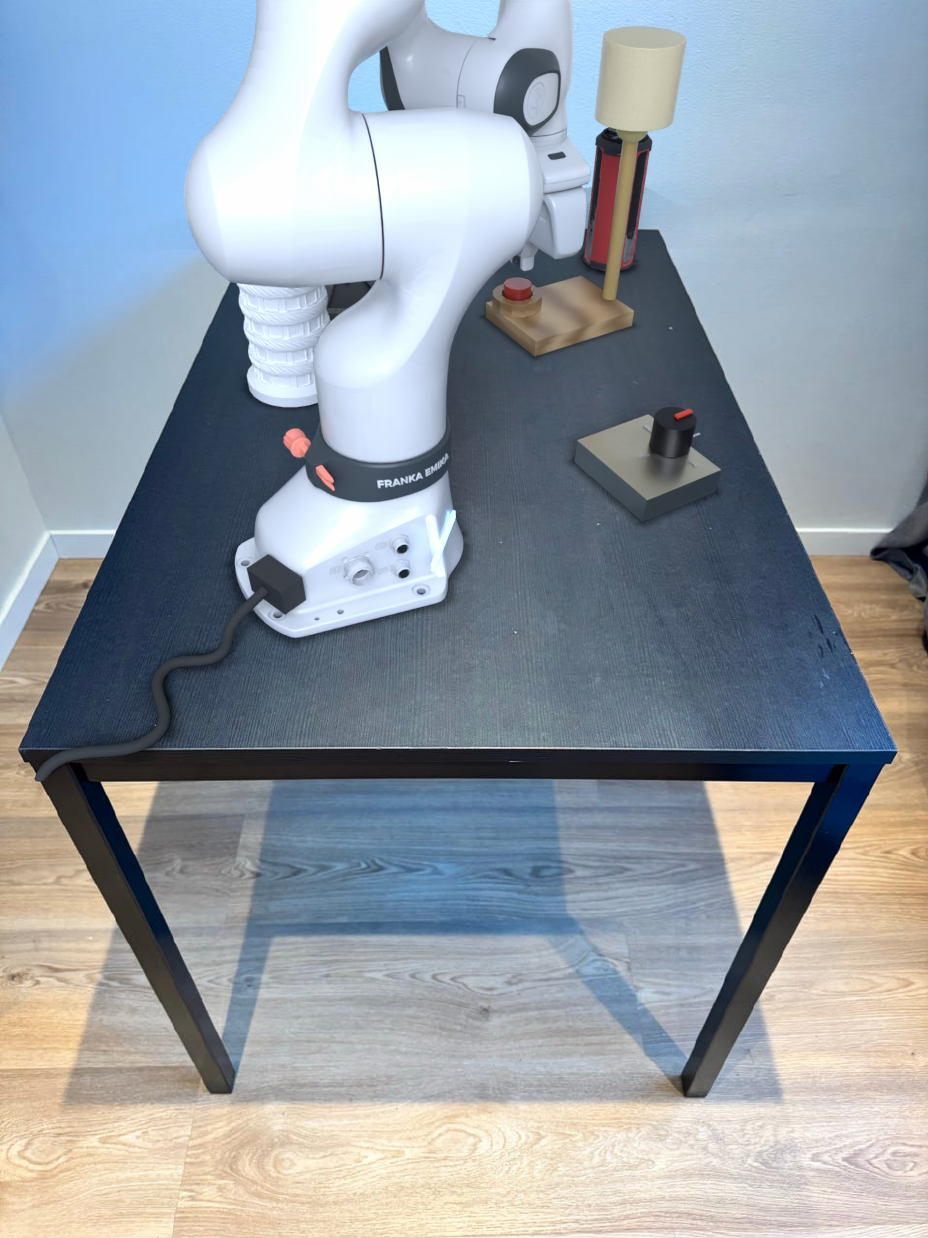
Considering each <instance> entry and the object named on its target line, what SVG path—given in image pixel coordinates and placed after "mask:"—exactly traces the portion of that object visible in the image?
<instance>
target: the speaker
mask: <svg viewBox="0 0 928 1238" xmlns="http://www.w3.org/2000/svg"><path fill="white" fill-rule="evenodd" d="M622 143H623V140H622V139H621V138H620V137H619V136H618V134H617V131H616V129H614V128H610V127H606V128H604V129H603V130H602V131H601V132H600V133H599V134H598V135H596V137H595V143H594V144H595V146H596V147H595V154H594V164H593V174H592V183H591V191H590V202H589V210H588V218H587V219H588V220H587V227H586V228H587V229H586V237H585V246H584V250H583V254H582V261H583V262H584V264H585V265H586V266H588V267H589V269H592V270H594V271H597V272H598V271H600V272H601V271H602V272H606V266H607V258H608V250H609V243H610V235H611V228H612V220H613V212H614V205H615V197H616V189H617V182H618V174H619V166H620V159H621V151H622ZM652 149H653V139H652V138H651V137H650V135H649V133H647V135H646V136H645V137H644V138H643V139H642V140H640V141H638V147H637V154H636V162H635V169H634V176H633V183H632V190H631V197H630V204H629V211H628V218H627V225H626V232H625V239H624V246H623V253H622V260H621V267H620V272H621V271H622V272H623V271H627V270H629V269H630V268H631V267H632V266H633V265H635V259H636V253H635V252H636V243H637V238H638V231H639V226H640V218H641V213H642V205H643V198H644V191H645V186H646V178H647V172H648V166H649V158H650V153H651V151H652Z"/></svg>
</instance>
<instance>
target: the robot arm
mask: <svg viewBox="0 0 928 1238" xmlns="http://www.w3.org/2000/svg"><path fill="white" fill-rule="evenodd" d="M255 9H256V12H255V26H254V34H253V41H252V45H251V50H250V54H249V57H248V58H249V59H248V62H247V65H246V69H245V72H244V75H243V77H242V80H241V82H240V85H239V86H238V89H237V91H236V93H235V95H234V97H233V98H232V101H231V102H230V104H229V105H228V107H227V109H226V110H225V111H224V113H223V115H222V116H221V117H220V118H219V120H218V121H217V122H216V123H215V125H214V126H213V127H212V128H211V129H210V130H209V131H208V133H206V134H205V136H204V137H202V139H201V140H200V142H199V143H198V144H197V146H196V148H195V149H194V151H193V153H192V156H191V158H190V160H189V163H188V166H187V169H186V173H185V179H184V184H183V185H184V186H183V204H184V211H185V217H186V221H187V226H188V229H189V231H190V234H191V236H192V238H193V240H194V242H195V244H196V247H197V248H198V250H199V251H200V253H201V255H202V256H203V257H204V258H205V260H206V261H207V263H208V264H209V265H210V266H211V267H212V268H213V269H214V270H215V271H216V272H217V273H218V274H219V275H220V276H222V277H223V278H224V279H225V280H227V281H228V282H229V283H233V284H237V283H240V284H248V285H256V286H265V287H277V288H290V289H295V288H305V287H314V286H324V285H333V284H343V283H352V282H362V281H371V280H376V282H375V283H374V285H373V286H372V288H371V289H370V290H369V292H368V293H367V294H366V295H365V296H364V297H363V298H362V299H361V300H359V301H358V302H357V303H355V304H354V305H352V306H351V307H349V308H348V309H346V310H345V311H343V312H342V313H340V314H339V315H338V316H336V317H335V318H334V319H333V320H332V321H331V322H330V323H329V324H328V326H327V327H326V329H325V330H324V332H323V333H322V335H321V337H320V339H319V340H318V342H317V345H316V348H315V351H314V356H313V368H314V376H315V384H316V392H317V399H318V403H317V405H318V413H319V423H318V425H317V427H316V430H315V433H314V437H313V439H312V441H311V439H309V437H308V438H307V436H306V434H305V433H304V431H303V430H301V429H300V428H291V429H289V430H287V431H286V433H285V435H284V436H283V441H282V442H283V444H284V446H285V447H286V448H287V449H288V450H289V451H290V454H291V455H292V456H293V457H295V458H299V459H300V458H303V459H304V465H303V466H302V467H301V468H299V470H297V472H296V473H295V474H294V475H293V476H292V477H291V478H290V479H289V480H288V481H286V482H285V484H283V486H281V488H279V489H278V491H276V492H275V493H274V494H273V495H272V496H271V497H270V498H268V499H267V501H266V502H264V503H263V504H262V505H260V508H259V509H258V512H257V514H256V517H255V522H254V533H253V537H251V538H249V539H247V540H245V541H244V542H242V543H240V545H238V547H237V549H236V552H235V556H234V566H235V576H236V580H237V584H238V587H239V588H240V591H241V593H242V594H243V596H244V598H245V601H244V602H243V603H241V605H240V606H239V607H238V608H237V609H236V610H235V611H234V612H233V613H232V615H231V616H230V618H229V619H228V620H227V622H226V624H225V626H224V628H223V632H222V635H221V643H220V645H219V647H218V648H217V649H215V650H214V651H212V652H210V653H206V654H198V655H181V656H176V657H172V658H170V659H167V660H166V661H164V662H163V663H162V664H160V666H158V668H157V669H156V670H155V671H154V674H153V675H152V677H151V683H150V686H151V693H152V698H153V700H154V703H155V706H156V710H157V714H158V717H157V722H156V725H155V726H154V728H153V729H152V730H151V731H150V732H148V733H147V734H145V735H144V736H142V737H140V738H137V739H135V740H132V741H128V742H127V741H126V742H122V743H115V744H101V745H87V746H78V747H73V748H69V749H64V750H61V751H60V752H57V753H55V754H54V755H52V756H51V757H49V758H48V759H47V760H46V761H45V762H43V764H42V765H40V767H39V768H38V770H37V772H36V774H35V775H34V777H33V779H34V782H37V783H40V782H44V781H45V780H47V779H48V778H49V777H50V776H51V775H52V774H53V772H54V771H56V770H58V768H59V767H61V766H63V765H65V764H68V763H70V762H73V761H79V760H85V759H96V758H109V757H111V758H112V757H119V756H127V755H132V754H135V753H138V752H142V751H144V750H146V749H148V748H149V747H151V746H153V745H154V744H156V743H157V742H158V741H159V740H160V739H162V737H164V735H165V734H166V732H167V731H168V728H169V726H170V724H171V723H170V722H171V717H172V716H171V710H170V706H169V702H168V700H167V696H166V693H165V690H164V681H165V679H166V677H167V676H168V674H169V673H171V672H172V671H174V670H176V669H179V668H189V667H204V666H209V665H214V664H216V663H218V662H221V661H222V660H224V659H225V658H226V657H227V656H228V654H230V652H231V649H232V645H233V641H234V635H235V633H236V631H237V629H238V627H239V626H240V624H241V623H242V622H243V620H244V619H245V618H246V617H247V616H248V615H249V614H250V612H252V611H254V613H255V614H256V615H257V616H258V617H259V618H260V619H261V620H262V622H264V623H265V624H266V625H267V626H269V627H270V628H271V629H273V630H274V631H276V632H278V633H280V634H282V635H284V636H287V637H289V638H293V639H297V638H298V639H299V638H304V637H308V636H311V635H315V634H320V633H323V632H328V631H331V630H336V629H340V628H344V627H347V626H351V625H356V624H360V623H363V622H367V621H371V620H376V619H379V618H383V617H384V618H385V617H388V616H392V615H395V614H399V613H404V612H407V611H412V610H415V609H419V608H423V607H428V606H431V605H436V604H438V603H441V602H443V601H444V600H445V598H446V596H447V593H448V589H449V578H450V576H451V574H452V573H453V571H454V570H455V568H456V567H457V565H458V564H459V562H460V560H461V558H462V555H463V551H464V536H463V533H462V531H461V528H460V525H459V523H458V520H457V517H456V510H455V508H454V505H453V500H452V499H453V498H452V494H451V493H452V492H451V486H450V478H449V468H450V466H451V464H452V463H451V462H452V428H451V427H452V426H451V422H450V418H449V416H448V415H447V394H448V393H447V390H448V375H449V363H450V355H451V350H452V346H453V342H454V340H455V335H456V334H457V331H458V328H459V326H460V323H461V321H462V320H463V318H464V315H465V314H466V312H467V311H468V308H470V306H471V304H472V302H473V300H474V299H475V298H476V296H477V295H478V293H479V292H480V291H481V290H482V289H483V287H484V286H485V284H486V283H487V282H488V281H489V280H490V279H491V278H492V277H493V275H495V274H496V273H497V272H498V271H499V270H500V269H501V268H502V267H503V266H504V265H506V264H507V263H508V262H510V263H511V264H513V265H514V266H516V267H517V268H519V269H520V270H522V272H527V271H532V269H534V265H535V256H536V254H537V253H538V251H539V250H540V251H541V252H543V253H545V254H546V255H548V256H549V257H551V258H552V259H554V260H562V259H566V258H570V257H573V256H576V255H577V254H578V253H579V252H580V251H581V250H582V248H583V244H584V239H585V233H586V225H587V213H588V212H587V211H588V199H587V193H586V190H585V189H584V187H583V186H585V185H588V184H589V183H590V181H591V177H592V176H591V175H592V169H591V165H590V164H589V162H588V161H587V160H586V159H585V158H584V156H583V155H582V154H581V153H580V152H579V150H578V149H577V147H576V146H575V144H574V142H573V141H572V139H571V138H570V136H568V127H569V126H568V124H569V121H568V119H569V118H568V114H567V99H568V94H569V91H570V88H571V85H572V78H573V77H572V76H573V65H574V64H573V61H574V16H573V15H574V14H573V7H572V1H571V0H499V5H498V11H497V19H496V25H495V27H494V28H493V29H492V30H491V31H490V32H489V33H487V34H486V36H479V35H475V34H474V35H473V34H468V33H463V32H462V33H461V32H456V31H450V30H447V29H445V28H443V27H441V26H440V25H438V24H437V23H435V22H434V21H433V20H432V19H431V17H430V16H429V14H428V11H427V4H426V0H256V8H255ZM378 53H379V85H380V93H381V97H382V100H383V103H384V105H385V107H386V110H382V111H368V112H361V111H357V110H353V109H351V107H350V106H349V85H350V80H351V78H352V75H353V73H354V71H355V70H356V69H357V68H358V67H359V66H360V65H361V64H363V62H365V61H367V60H368V59H370V58H371V57H373V56H374V55H376V54H378Z"/></svg>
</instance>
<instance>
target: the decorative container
mask: <svg viewBox="0 0 928 1238" xmlns="http://www.w3.org/2000/svg"><path fill="white" fill-rule="evenodd" d="M236 286H237V287H238V289H239V295H238V305H239V308H240V310H241V313H242V314H243V316H244V317H243V318H244V320H243V331H244V335H245V337H246V340H248V343H249V344H248V346H247V347H248V350H247V354H248V359H249V360H250V363H251V366H250V367H249V368H248V370H247V373H246V379H247V385H248V390H249V392H250V393H251V395H252V396H253V397H254V398H255V399H257V400H258V401H260V402H262V403H264V404H267V405H270V406H275V407H281V408H299V407H306V406H311V405H314V404H318V399H317V392H316V384H315V376H314V368H313V356H314V351H315V348H316V345H317V342H318V340H319V339H320V337H321V335H322V333H323V332H324V330H325V329H326V327H327V326H328V324H329V323H330V322H331V320H330V317H329V315H328V312H327V309H326V307H327V303H328V297H327V296H328V294H327V290H326V288H325V286H314V287H305V288H295V289H290V288H277V287H265V286H256V285H248V284H240V283H236Z"/></svg>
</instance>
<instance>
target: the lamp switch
mask: <svg viewBox="0 0 928 1238" xmlns="http://www.w3.org/2000/svg"><path fill="white" fill-rule="evenodd" d="M503 284H504V297H505V298H506V299H509V300H512V301H524V300H527V299H530V297H531V285H532V281H531V280H530V279H527V278H525V277H524V278H523V277H520V276H519V277H515V276H514V277H510V278H507V279H506V280H505V281H504V282H503Z"/></svg>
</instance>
